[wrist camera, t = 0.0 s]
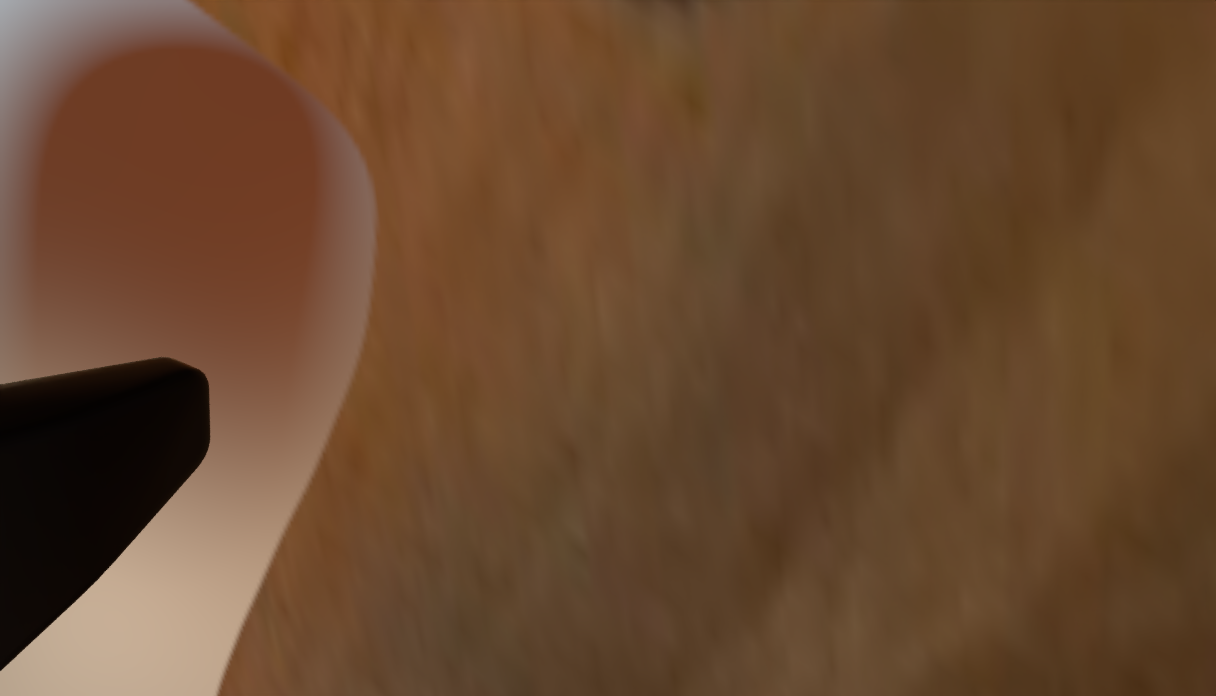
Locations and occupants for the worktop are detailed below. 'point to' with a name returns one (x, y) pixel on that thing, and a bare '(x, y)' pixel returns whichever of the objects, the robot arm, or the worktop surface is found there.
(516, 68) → the worktop surface
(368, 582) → the worktop surface
